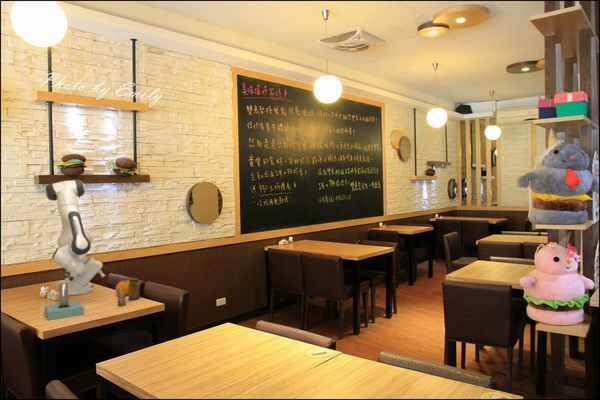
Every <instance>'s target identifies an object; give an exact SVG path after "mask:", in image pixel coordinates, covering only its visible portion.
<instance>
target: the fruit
mask: <svg viewBox="0 0 600 400" xmlns="http://www.w3.org/2000/svg"><path fill="white" fill-rule="evenodd" d="M129 280H130V279H128V280H127V279H126V278H125V279H124V280H122V281H119V282H118V283H117V284H116V286H115V292H116V294H117V295H118V289H125V297H127V296H129Z"/></svg>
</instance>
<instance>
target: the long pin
mask: <svg viewBox="0 0 600 400" xmlns="http://www.w3.org/2000/svg"><path fill="white" fill-rule="evenodd" d="M58 287H59V288H58V292H59V294H58V295H59V303H58V304H60V308H66V307H68V302H69V295H68V283H63V282H61V283H59V284H58Z"/></svg>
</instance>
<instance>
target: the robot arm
mask: <svg viewBox="0 0 600 400" xmlns="http://www.w3.org/2000/svg"><path fill="white" fill-rule="evenodd" d="M85 191H86V185H85V183H84V182H83V180H81V179H74V180H63V181H58V182H54V183H48V184H47V185H46V186H45V189H44V193H45V197H46V198H47V199H48V200H49V201H54V202H55V201H57V202H56V203H57V210H58V212H59V216H60V218H61V219H60V221H61V231H60V235H59V236H58V238H57V242H56V243H57V246H58V247H57V248H56V250H55V251H54V253H53V254H52V257H51V259H52V261H53V262H54V263H55V264H57V265H58V266H59V267H60V268H62V269H65V273H64V274H65V279H64V280H63V281H62V283H68V296H78V295H84V294H87V293H90V292H93V289H94V288H95V285H94V284H90V281H91V280H92V279H93V278H94V277H95V276H96V275H97V274H100V277H101V278H104V277H105V276H106V274H104V273H103V271H102V268H103V266H104V265H103V263H102V262H101V261H100V260H97V259H96V258H94V257H91V256H90V257H88V258H87V254H88V252H89V251H90V250H91V246H92V245H91V244H92V243H93V240H94V237H93V235H92V234H91V232H89V231H86V230H85V229H84V226H83V222H82V221H83V220H82V216H81V215H82V214H81V210H80V205H79V200H78V199H81V197H83V196H84V195H85Z"/></svg>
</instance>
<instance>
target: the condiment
mask: <svg viewBox="0 0 600 400" xmlns="http://www.w3.org/2000/svg"><path fill="white" fill-rule="evenodd" d="M139 279H140V278H138V277H137V278H135V277H133V278H129V279H128V280H129V295H128V297H125V300H128V301H129V302H132V301H135V302H136V301H139V300H140V301H141V300H143V298H141V297H140V282H139Z"/></svg>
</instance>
